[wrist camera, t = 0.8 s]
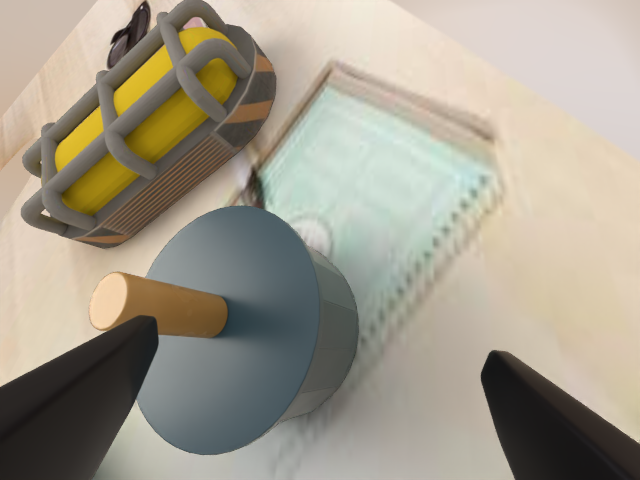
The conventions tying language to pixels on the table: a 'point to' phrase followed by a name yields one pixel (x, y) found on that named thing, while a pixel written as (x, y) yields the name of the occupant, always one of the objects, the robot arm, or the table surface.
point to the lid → (222, 327)
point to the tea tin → (330, 339)
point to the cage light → (150, 128)
